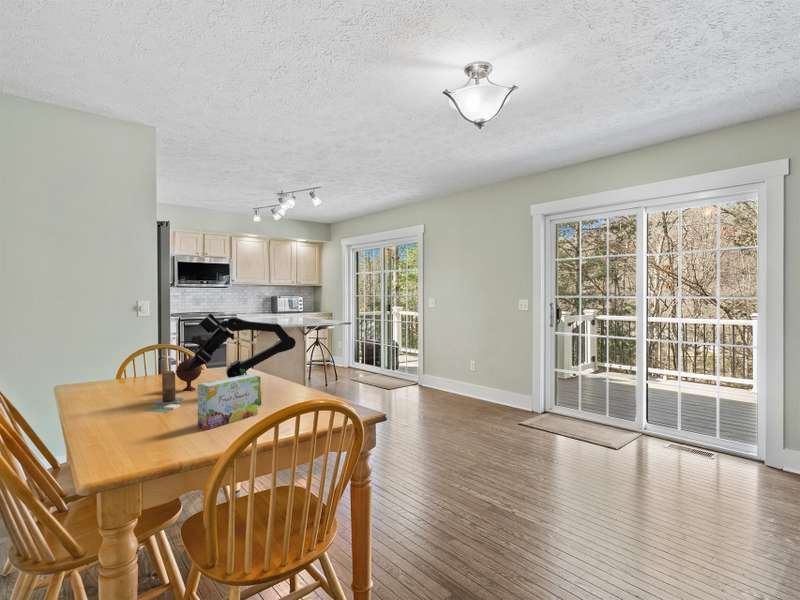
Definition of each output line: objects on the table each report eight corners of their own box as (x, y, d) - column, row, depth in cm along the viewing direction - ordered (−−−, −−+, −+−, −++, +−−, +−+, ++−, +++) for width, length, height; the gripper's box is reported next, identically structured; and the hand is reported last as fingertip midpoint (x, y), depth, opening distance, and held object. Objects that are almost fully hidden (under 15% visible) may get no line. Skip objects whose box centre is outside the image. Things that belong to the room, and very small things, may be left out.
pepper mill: (177, 400, 181) (177, 371, 181) (166, 402, 177) (165, 373, 177) (171, 398, 184) (171, 370, 184) (160, 401, 180) (159, 372, 180)
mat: (181, 407, 172) (181, 404, 172) (166, 413, 164) (166, 410, 164) (159, 406, 174) (159, 403, 174) (143, 412, 166) (143, 408, 166)
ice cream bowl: (206, 387, 206) (205, 356, 206) (192, 393, 195) (192, 360, 195) (185, 387, 207) (184, 356, 207) (170, 393, 196) (170, 359, 196)
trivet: (189, 399, 185) (189, 398, 185) (170, 406, 174) (170, 404, 174) (167, 398, 187) (167, 396, 187) (147, 404, 176) (147, 403, 176)
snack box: (207, 430, 144) (206, 385, 144) (197, 428, 147) (196, 383, 147) (259, 414, 162) (258, 374, 162) (249, 412, 165) (248, 373, 165)
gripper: (202, 326, 194) (174, 352, 189) (201, 329, 176) (171, 358, 172) (221, 342, 197) (194, 369, 193) (222, 348, 180) (193, 376, 176)
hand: (188, 368), depth 183 cm, fingers open, 9 cm apart
